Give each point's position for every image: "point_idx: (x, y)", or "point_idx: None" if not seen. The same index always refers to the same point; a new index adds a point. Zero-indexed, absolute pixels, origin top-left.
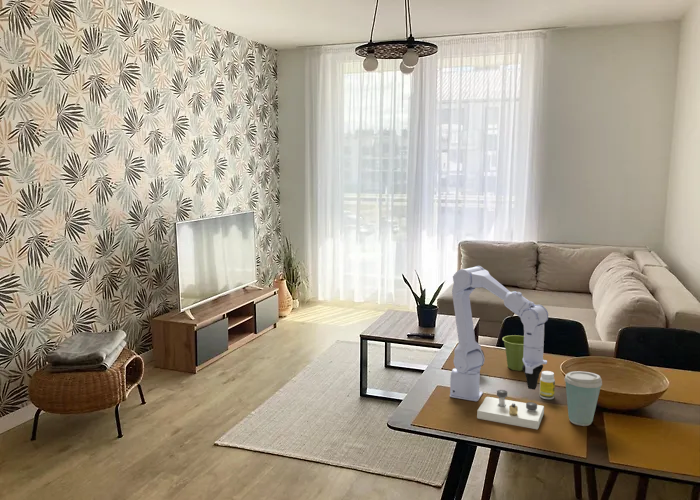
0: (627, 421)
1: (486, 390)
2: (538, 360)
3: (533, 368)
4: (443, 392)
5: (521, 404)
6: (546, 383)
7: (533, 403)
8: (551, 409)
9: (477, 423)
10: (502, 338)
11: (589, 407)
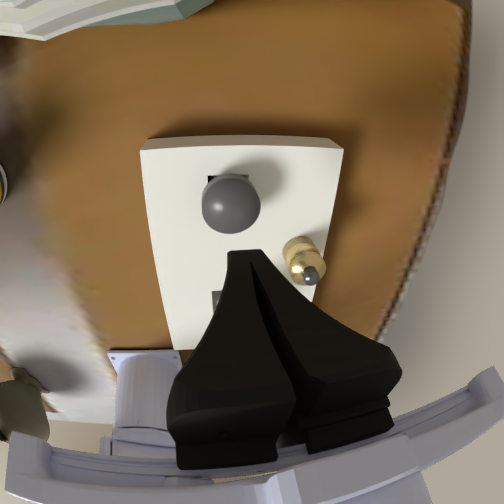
0: None
1: (80, 345)
2: (426, 496)
3: (492, 404)
4: None
5: (177, 245)
6: None
7: (214, 203)
8: (83, 121)
9: (327, 309)
10: None
11: None
